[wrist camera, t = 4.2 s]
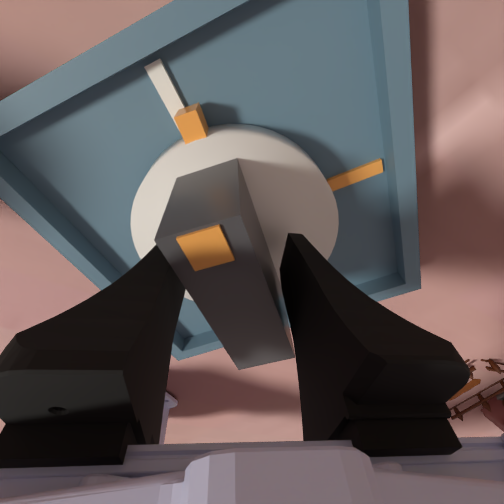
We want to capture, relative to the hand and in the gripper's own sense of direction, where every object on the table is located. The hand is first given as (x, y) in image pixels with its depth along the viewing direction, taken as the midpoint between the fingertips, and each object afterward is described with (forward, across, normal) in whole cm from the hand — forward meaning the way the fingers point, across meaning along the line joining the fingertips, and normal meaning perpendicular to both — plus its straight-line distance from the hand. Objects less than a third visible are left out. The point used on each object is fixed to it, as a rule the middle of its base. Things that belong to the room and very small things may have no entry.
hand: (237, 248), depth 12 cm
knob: (+2, 0, 0) cm, 2 cm away
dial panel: (+4, 0, 0) cm, 4 cm away
